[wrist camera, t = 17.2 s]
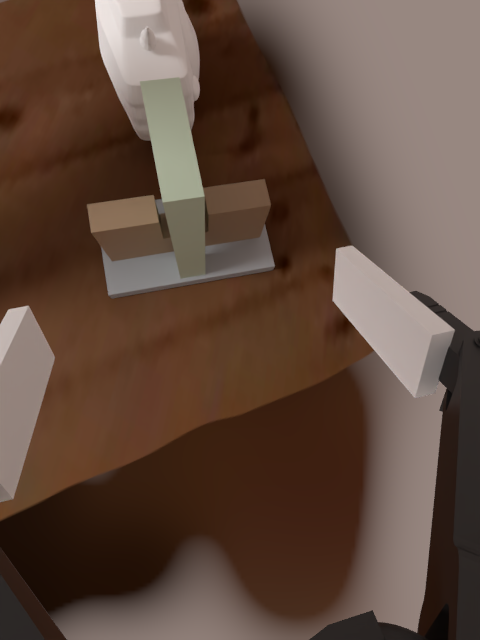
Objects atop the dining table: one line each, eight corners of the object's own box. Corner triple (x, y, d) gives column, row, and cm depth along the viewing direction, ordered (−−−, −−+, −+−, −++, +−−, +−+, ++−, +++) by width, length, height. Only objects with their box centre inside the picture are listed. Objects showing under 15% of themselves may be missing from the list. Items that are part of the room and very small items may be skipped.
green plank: (180, 278, 43) (162, 202, 26) (166, 202, 45) (139, 81, 27) (205, 274, 44) (204, 196, 26) (190, 198, 45) (179, 77, 28)
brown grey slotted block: (111, 298, 44) (86, 273, 34) (98, 214, 46) (71, 169, 36) (272, 270, 46) (289, 239, 37) (254, 191, 48) (265, 143, 39)
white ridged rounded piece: (132, 166, 47) (95, 55, 32) (103, 50, 50) (56, -105, 34) (214, 150, 49) (218, 37, 33) (182, 38, 52) (171, -114, 36)
